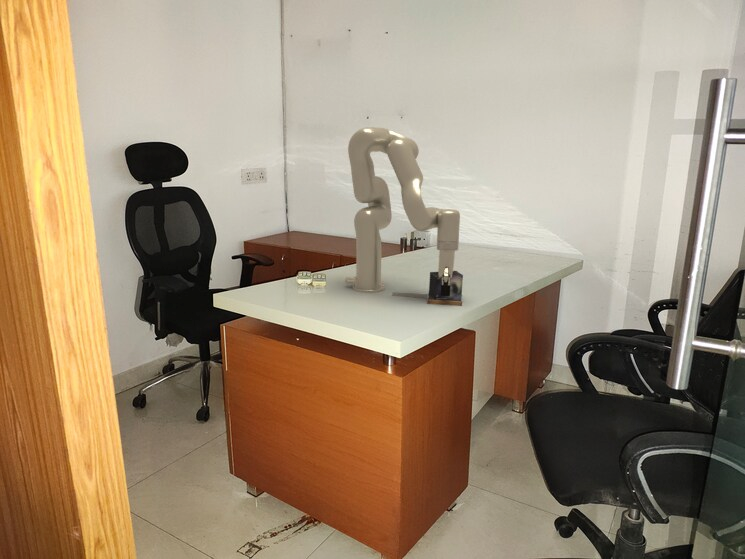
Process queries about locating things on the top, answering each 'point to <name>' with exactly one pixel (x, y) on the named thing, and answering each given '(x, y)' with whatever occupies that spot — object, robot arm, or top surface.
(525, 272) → the top surface
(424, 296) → the rubber mat
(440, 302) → the brown open frame
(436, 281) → the small box
